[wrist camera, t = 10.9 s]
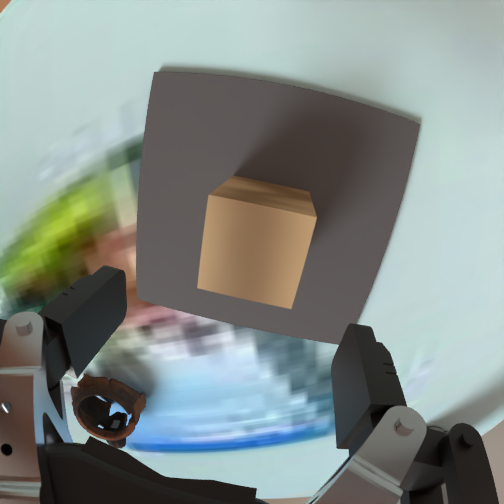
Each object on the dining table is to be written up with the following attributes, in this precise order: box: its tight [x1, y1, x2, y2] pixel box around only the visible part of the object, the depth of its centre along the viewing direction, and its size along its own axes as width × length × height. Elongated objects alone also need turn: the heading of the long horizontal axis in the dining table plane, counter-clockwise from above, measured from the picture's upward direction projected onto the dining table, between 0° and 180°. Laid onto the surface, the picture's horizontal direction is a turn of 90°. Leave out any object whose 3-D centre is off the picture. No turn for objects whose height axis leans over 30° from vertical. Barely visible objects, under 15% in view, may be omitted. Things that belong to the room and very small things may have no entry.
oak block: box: [197, 176, 317, 309], centre depth 17 cm, size 5×5×6 cm
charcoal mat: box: [136, 72, 420, 345], centre depth 20 cm, size 18×18×1 cm
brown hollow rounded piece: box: [71, 373, 146, 449], centre depth 29 cm, size 12×10×8 cm
